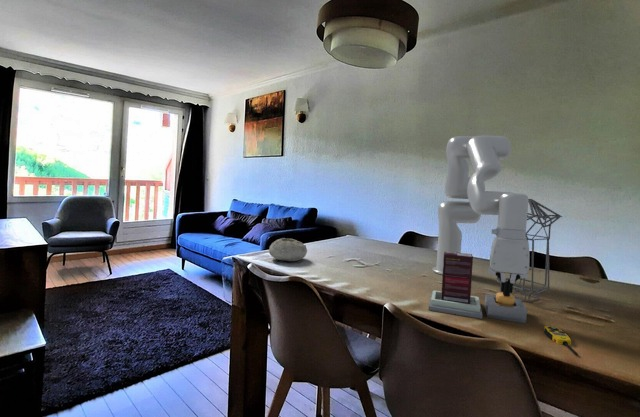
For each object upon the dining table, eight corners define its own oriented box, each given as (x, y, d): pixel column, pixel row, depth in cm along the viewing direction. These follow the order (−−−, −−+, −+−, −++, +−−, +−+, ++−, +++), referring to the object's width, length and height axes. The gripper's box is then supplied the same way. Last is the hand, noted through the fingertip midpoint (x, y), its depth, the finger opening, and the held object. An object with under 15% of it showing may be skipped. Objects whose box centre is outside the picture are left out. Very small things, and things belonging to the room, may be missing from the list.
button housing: (484, 306, 111) (485, 294, 111) (519, 311, 107) (520, 299, 107) (487, 317, 102) (488, 304, 101) (525, 323, 98) (527, 310, 98)
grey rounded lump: (308, 257, 171) (309, 237, 170) (303, 266, 154) (304, 243, 153) (273, 255, 173) (274, 235, 172) (264, 263, 155) (265, 241, 154)
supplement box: (469, 302, 111) (472, 253, 109) (469, 307, 106) (473, 256, 105) (440, 298, 114) (443, 250, 112) (440, 302, 109) (443, 253, 108)
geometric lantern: (529, 307, 111) (539, 200, 108) (486, 292, 125) (494, 197, 122) (557, 301, 119) (567, 200, 116) (513, 287, 132) (521, 197, 130)
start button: (494, 300, 107) (495, 291, 107) (512, 303, 106) (513, 294, 105) (496, 306, 103) (497, 296, 103) (515, 309, 101) (516, 299, 101)
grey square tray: (431, 296, 119) (431, 288, 118) (479, 303, 113) (479, 295, 113) (428, 310, 106) (429, 301, 105) (482, 318, 100) (482, 309, 100)
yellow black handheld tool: (559, 325, 94) (589, 351, 79) (559, 332, 94) (588, 359, 79) (540, 323, 95) (565, 348, 80) (539, 330, 95) (565, 356, 80)
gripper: (484, 233, 102) (479, 294, 103) (543, 238, 96) (537, 302, 97) (482, 230, 108) (478, 287, 110) (537, 235, 103) (532, 295, 104)
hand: (506, 294), depth 104 cm, fingers closed
